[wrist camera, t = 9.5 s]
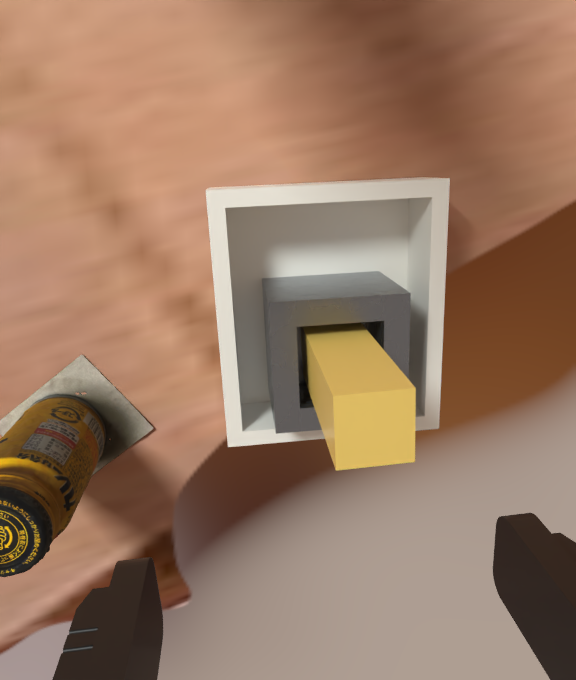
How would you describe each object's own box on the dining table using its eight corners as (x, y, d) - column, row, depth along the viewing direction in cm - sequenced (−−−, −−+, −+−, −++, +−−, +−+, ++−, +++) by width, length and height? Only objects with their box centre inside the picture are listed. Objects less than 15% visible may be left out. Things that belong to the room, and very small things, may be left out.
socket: (261, 278, 36) (268, 302, 30) (378, 270, 37) (410, 293, 30) (268, 388, 39) (275, 433, 32) (378, 380, 40) (407, 422, 33)
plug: (299, 321, 34) (332, 396, 23) (355, 316, 35) (415, 388, 23) (302, 374, 36) (335, 470, 24) (357, 369, 36) (414, 462, 24)
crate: (209, 187, 35) (205, 190, 30) (421, 177, 36) (449, 178, 31) (228, 413, 40) (228, 447, 35) (415, 398, 41) (439, 428, 36)
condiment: (-7, 425, 38) (-108, 533, 27) (82, 353, 38) (17, 433, 26) (68, 493, 41) (4, 619, 29) (154, 426, 40) (123, 529, 28)
